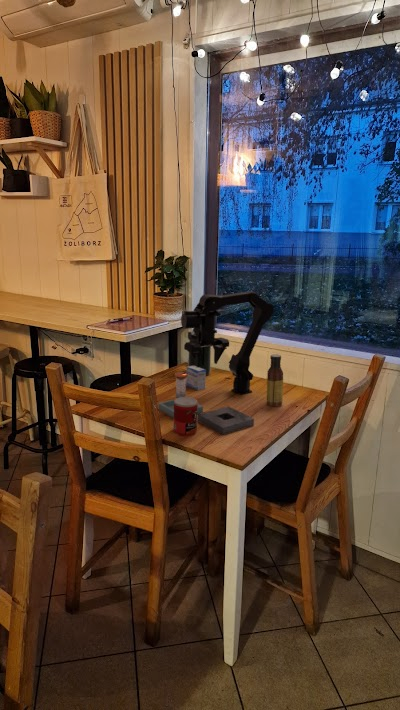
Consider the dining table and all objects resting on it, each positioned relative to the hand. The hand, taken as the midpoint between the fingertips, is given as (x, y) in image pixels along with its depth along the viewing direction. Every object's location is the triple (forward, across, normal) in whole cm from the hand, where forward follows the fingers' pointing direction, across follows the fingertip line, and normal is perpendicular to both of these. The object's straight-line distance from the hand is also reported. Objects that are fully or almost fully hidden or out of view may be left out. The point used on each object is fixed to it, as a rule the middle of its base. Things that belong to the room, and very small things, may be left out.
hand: (206, 365), depth 191 cm
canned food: (+13, +27, +24) cm, 38 cm away
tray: (+13, +18, +8) cm, 24 cm away
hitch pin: (+12, +18, +8) cm, 23 cm away
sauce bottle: (+13, -17, +22) cm, 31 cm away
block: (+13, +11, +26) cm, 31 cm away
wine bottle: (+13, -16, -26) cm, 33 cm away
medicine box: (+13, -3, -11) cm, 18 cm away
